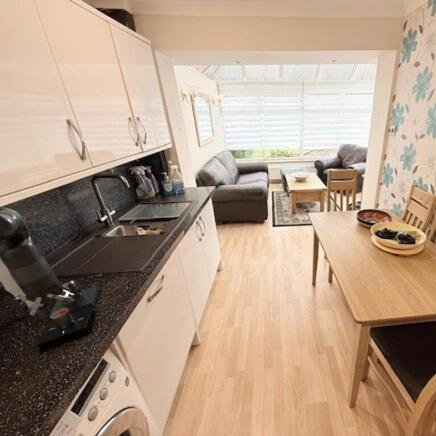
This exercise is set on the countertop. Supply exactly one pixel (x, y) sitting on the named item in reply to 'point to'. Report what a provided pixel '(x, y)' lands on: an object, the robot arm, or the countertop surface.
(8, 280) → the water bottle
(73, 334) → the dial panel
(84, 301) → the button box
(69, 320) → the knob
